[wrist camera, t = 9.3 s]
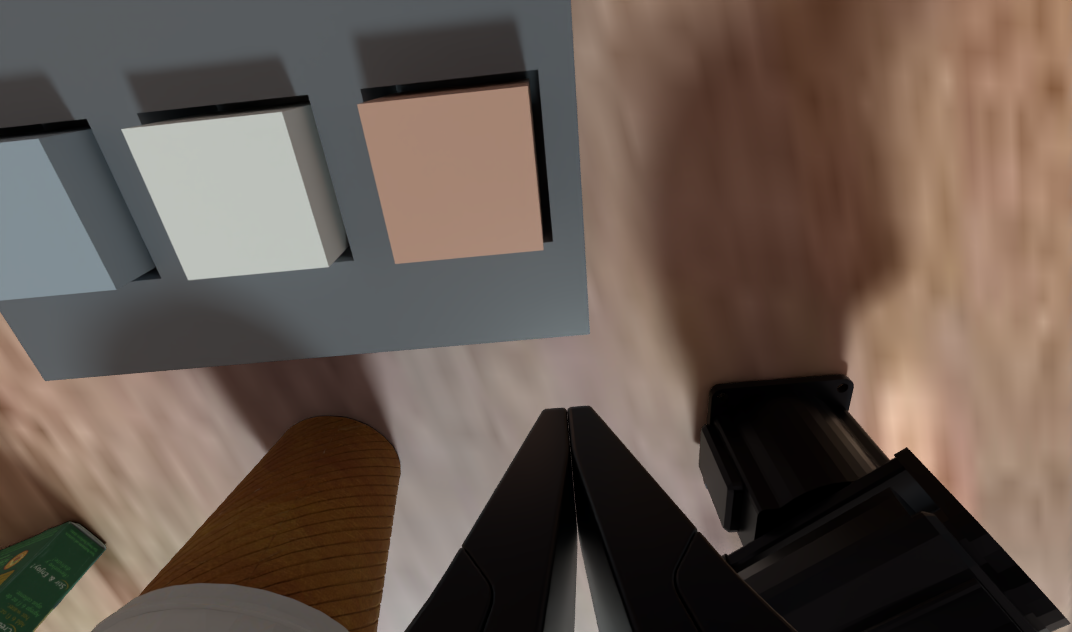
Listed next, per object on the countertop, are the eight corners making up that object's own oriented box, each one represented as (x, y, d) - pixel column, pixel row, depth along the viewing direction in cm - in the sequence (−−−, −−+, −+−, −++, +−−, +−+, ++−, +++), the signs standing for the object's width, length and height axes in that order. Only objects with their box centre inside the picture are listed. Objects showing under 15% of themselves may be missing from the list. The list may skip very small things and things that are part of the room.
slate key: (141, 119, 17) (38, 138, 14) (193, 245, 19) (116, 289, 16) (15, 133, 17) (-119, 155, 14) (80, 256, 19) (-21, 302, 16)
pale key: (334, 98, 17) (281, 112, 14) (367, 226, 19) (328, 266, 16) (206, 112, 17) (121, 129, 14) (252, 237, 19) (187, 280, 16)
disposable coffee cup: (397, 372, 24) (287, 627, 14) (453, 513, 28) (404, 792, 18) (210, 406, 25) (-31, 670, 14) (292, 538, 29) (154, 817, 19)
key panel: (558, -59, 17) (565, -94, 13) (579, 282, 22) (589, 333, 18) (-33, 11, 17) (-201, 0, 13) (130, 323, 23) (45, 381, 19)
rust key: (529, 77, 17) (527, 85, 13) (541, 211, 19) (543, 250, 15) (394, 92, 17) (356, 104, 13) (421, 223, 19) (395, 263, 15)
